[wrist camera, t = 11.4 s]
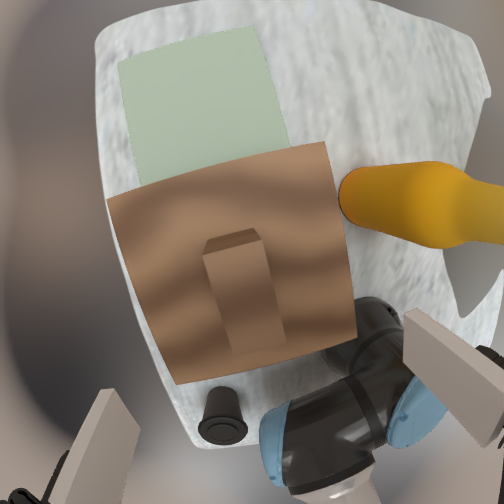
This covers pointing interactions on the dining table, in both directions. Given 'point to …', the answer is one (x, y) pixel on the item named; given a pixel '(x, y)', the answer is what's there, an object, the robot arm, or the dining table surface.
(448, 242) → the yellow bottle
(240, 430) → the coffee cup
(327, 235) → the walnut cover
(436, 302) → the dining table surface
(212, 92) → the green mat
